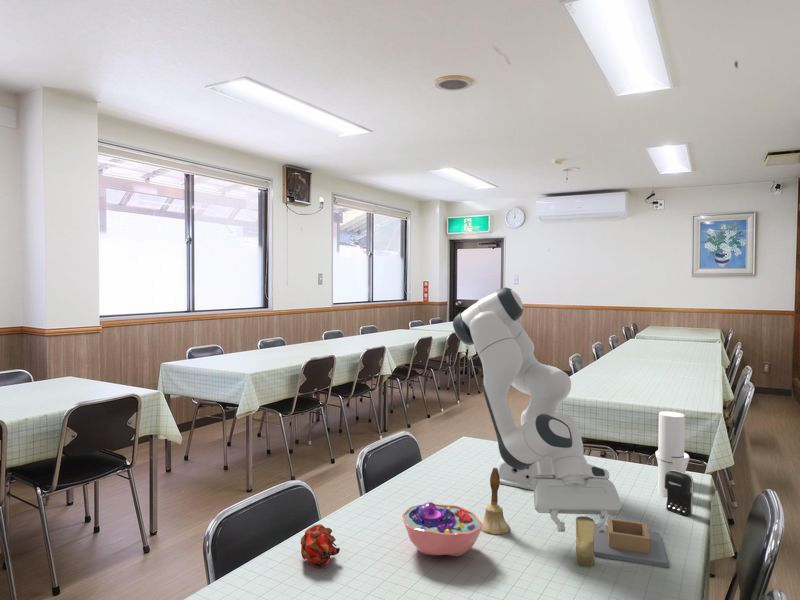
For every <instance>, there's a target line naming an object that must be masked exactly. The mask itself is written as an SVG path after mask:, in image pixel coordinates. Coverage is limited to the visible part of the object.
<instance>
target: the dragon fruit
mask: <svg viewBox="0 0 800 600" xmlns="http://www.w3.org/2000/svg"><path fill="white" fill-rule="evenodd" d="M332 532H333V530H332V529H331V527H325V526H324V524H321V523H319V524H314V525H312V526H311V527H308V528H307V529H306V530H305V531H304V535H302V536H301V537H300V546H301V550H300V554H301V557H302V559H303V560H307V561H308V562H309V564H310V565H311V566H312V567H313V568H318V569H320V568H321V567H320V565H321V564H325V565H328V564H329V563H330V562H331V556H337V555H338V554H339V553H340V552H341V551H340V550H341V548H340V547H337V544H335V543H334V542H335V541H336V540H337V539H336V537H334V535H332Z"/></svg>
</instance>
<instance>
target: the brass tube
mask: <svg viewBox="0 0 800 600" xmlns="http://www.w3.org/2000/svg"><path fill="white" fill-rule="evenodd" d="M594 524H595V520H594V518H591V517H588V516H586V515H584V516H582V515H581V516H577V517H576V518H575V563H576V564H577V565H579V566H581V567H585V568H588V567H589V568H591V567H593V566H594V565H595V556H594Z"/></svg>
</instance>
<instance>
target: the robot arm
mask: <svg viewBox="0 0 800 600" xmlns="http://www.w3.org/2000/svg"><path fill="white" fill-rule="evenodd" d="M523 313H524V308H523V301H522V299H521V297H520V296H519V294H518V293H516V292H515V291H514V290H513V289H512V288H510V287H501V288H500V289H497V290H496V291H494V292H493V293H490V294H488V295H486V296H484V297H482V298H480V299H478V300H477V301H476V302H474V303H473V304H472V305H471V306H469V307H467V308H466V309H465V310H464V311H462V312H461V311H460V312H459V313H458V314H457V315H456V316H455V317H453V318H454V319H453V322H452V327H453V330H454V333H455V335H456V336H457V338H458V339H459V340H460V341H461V342H462V343H463V344H465V345H469V346H472V345H474V348H475V351H476V353H477V354H478V358H479V359H480V362H481V365H482V370H483V381H482V390H483V395H484V398H485V402H486V405H487V410H488V411H489V415H490V419H491V421H492V424H493V425H492V426H493V428H494V432H495V434H496V438H497V446H498V450H499V454H500V458H499V460H498V461H497V462H498V463H497V467H496V468H497V469H498V473H499V476H500V484H499V485H506V486H511V487H515V488H516V487H517V488H521V489H526V490H531V491H533V507H534V510H535V511H536V513H538V514H550V518H551V520H552V521H553V522H554V524H555V525H556V529H557V532H561V533H564V532H565V531H566V526H565V522H564V521H561V520H560V519H559V517H558V515H563V514H565V515H595V516H596V515H598V516H599V519H600V520H601V522H599V523H597V524H598V525H597V529H598V533H605V532H606V526H605V525H606V522H607V521H608V518H609V516H617V515H618V513H620V510H622V509H621V508H622V503H621V499H620V496H619V493H618V490H617V488H616V486H615V485H614V483H613V482H612V481H611V480H610V473H609V470H607V469H605V468H603V467H599V466H596V465H593V464H590V463H588V462H587V459H586V457H585V456H584V445H583V439H582V436H581V432H580V429H579V428H578V424H577V423H576V421H575V420H574V418H573V417H572V416H570V415H569V414H566V413H558V410H559V407H560V405H561V403H562V401H563V400H564V399H566V398H567V397H568V396H569V394H570V392H571V389H572V380H571V378H570V375H568V374H567V373H566V372H565V371H563V370H562V369H560V368H558V367H556V366H552V365H549V364H544V363H541V362H540V361H538V359H537V358H536V356H535V353H534V352H535V344H534V342H533V341H532V339H531V337H530V336H529V335H528V333H527V332H526V330H525V329H524V327H523V326H522V324H521V323H520V322H519V321H518V320H519V319H520V318H521V317H522V316H523ZM511 386H512V387H513V388H515V390H517V391H519V392H520V393H523V394H526V395H529V402H528V405H527V408H525V409H524V410H523V411H522V413H521V414H520V415H521V416H520V425H519V426H518V427H517V426H516V423H515V422H514V418H513V415H512V411H511V409H510V405H509V402H508V394H509V391H510V388H511ZM491 473H492V471H491V472H490V474H491Z"/></svg>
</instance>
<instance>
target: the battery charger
mask: <svg viewBox="0 0 800 600" xmlns="http://www.w3.org/2000/svg"><path fill="white" fill-rule="evenodd" d="M665 489H667V497H666V498H667V499H666V505H665V506H666V508H665V509H667V510H668V511H671V512H674V513H675V514H678V515H681V516H687V517H688V516H690V515H693V500H694V479H693V476H692V475H690V474H689V473H686V472H685V473H684V472H680V471H677V470H671V471H669V472H667V473H666V475H665Z"/></svg>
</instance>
